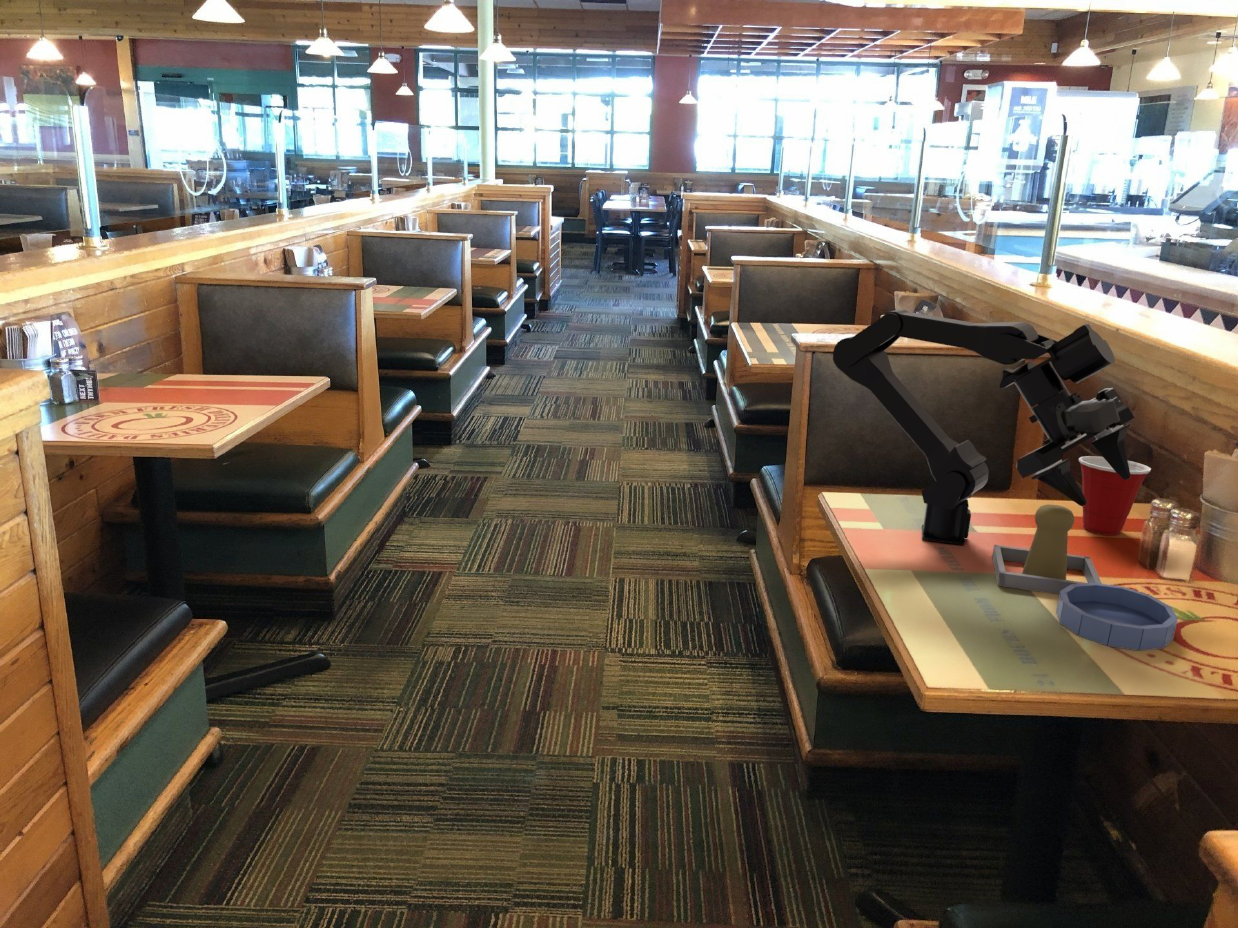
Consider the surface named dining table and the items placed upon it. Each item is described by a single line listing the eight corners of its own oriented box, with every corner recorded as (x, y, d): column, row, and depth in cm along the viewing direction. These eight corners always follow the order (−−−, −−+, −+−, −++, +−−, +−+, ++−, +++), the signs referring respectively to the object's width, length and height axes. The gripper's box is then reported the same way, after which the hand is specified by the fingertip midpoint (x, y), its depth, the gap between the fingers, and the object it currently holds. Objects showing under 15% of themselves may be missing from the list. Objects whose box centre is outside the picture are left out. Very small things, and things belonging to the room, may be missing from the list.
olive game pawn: (1058, 570, 147) (1071, 501, 144) (1071, 587, 141) (1085, 515, 138) (1016, 567, 147) (1028, 498, 144) (1028, 584, 142) (1041, 512, 138)
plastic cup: (1136, 525, 168) (1150, 458, 164) (1138, 545, 158) (1153, 475, 155) (1067, 513, 172) (1079, 448, 168) (1065, 533, 162) (1078, 464, 159)
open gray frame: (997, 585, 141) (1000, 572, 140) (992, 556, 151) (994, 544, 151) (1100, 600, 137) (1103, 586, 136) (1087, 569, 148) (1089, 557, 147)
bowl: (1064, 639, 125) (1068, 618, 124) (1051, 596, 138) (1055, 577, 137) (1182, 657, 121) (1187, 635, 121) (1158, 611, 134) (1162, 591, 133)
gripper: (1038, 404, 133) (1100, 504, 131) (1130, 354, 140) (1191, 449, 137) (990, 430, 144) (1047, 523, 141) (1078, 383, 150) (1134, 471, 148)
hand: (1106, 491), depth 142 cm, fingers open, 9 cm apart
